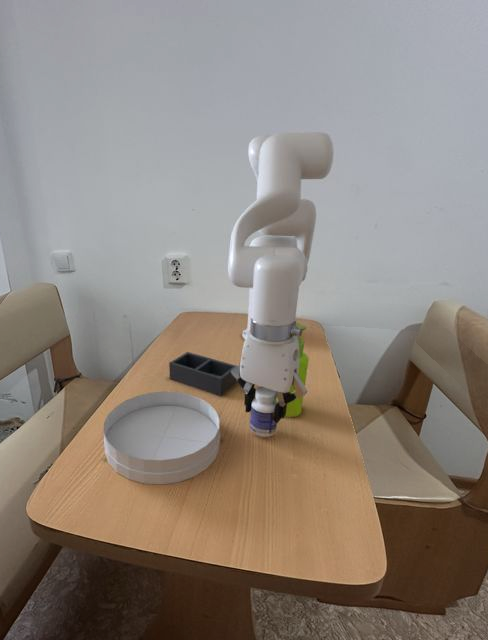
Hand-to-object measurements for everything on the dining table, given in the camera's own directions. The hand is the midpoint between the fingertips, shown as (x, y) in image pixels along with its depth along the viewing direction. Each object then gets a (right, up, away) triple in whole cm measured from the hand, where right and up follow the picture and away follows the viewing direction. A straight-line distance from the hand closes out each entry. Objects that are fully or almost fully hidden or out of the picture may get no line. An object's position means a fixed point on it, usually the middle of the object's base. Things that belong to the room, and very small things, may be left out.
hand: (264, 413), depth 73 cm
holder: (-12, +5, +22) cm, 25 cm away
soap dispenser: (+7, -1, +10) cm, 12 cm away
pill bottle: (0, -4, +2) cm, 4 cm away
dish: (-20, -6, 0) cm, 21 cm away
